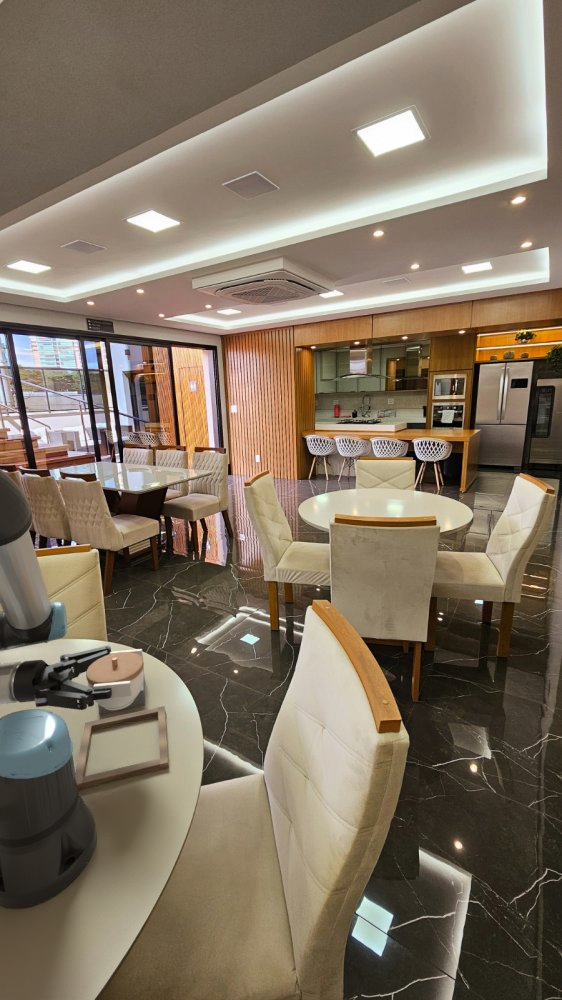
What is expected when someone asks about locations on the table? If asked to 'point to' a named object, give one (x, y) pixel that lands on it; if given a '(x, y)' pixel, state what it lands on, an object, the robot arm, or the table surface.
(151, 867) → the table surface
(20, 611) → the robot arm
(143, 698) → the gray stand
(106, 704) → the lidded jar
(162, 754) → the walnut collar
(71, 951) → the table surface
